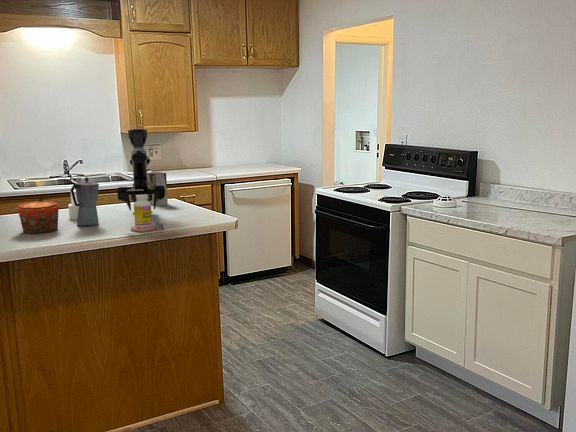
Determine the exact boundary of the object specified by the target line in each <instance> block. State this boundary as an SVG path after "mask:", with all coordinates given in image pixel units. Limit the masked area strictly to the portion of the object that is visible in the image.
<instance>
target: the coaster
mask: <svg viewBox="0 0 576 432" xmlns="http://www.w3.org/2000/svg"><path fill="white" fill-rule="evenodd" d="M156 229H157V226H156V224H153V223H152V226H150V227H147V228H137V227H136V226H135V224H134V225H131V227H130V231H131V232H134V233H135V232H137V233H143V232H144V233H145V232H147V233H148V232H151V231H152V232H153V231H155V230H156Z"/></svg>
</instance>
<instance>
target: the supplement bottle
mask: <svg viewBox="0 0 576 432" xmlns="http://www.w3.org/2000/svg"><path fill="white" fill-rule="evenodd" d="M136 199H137V201H136V202H135V203H134V202H133V213H134V214H133V216H134V225H135V226H136V227H137V228H147V227H150V226H152V224H153V222H152V221H153V220H152V218H153V217H152V213H151V211H152V204H151V203H150V202H149V201H148V195H145V194H141V195H136Z"/></svg>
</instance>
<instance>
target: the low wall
mask: <svg viewBox="0 0 576 432" xmlns="http://www.w3.org/2000/svg"><path fill="white" fill-rule="evenodd" d="M155 225H156V228H159V229H160V230H161V231H163V230H164V223H163V222H162V221H161V220H159V219H156V218H155Z"/></svg>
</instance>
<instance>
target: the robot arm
mask: <svg viewBox="0 0 576 432" xmlns="http://www.w3.org/2000/svg"><path fill="white" fill-rule="evenodd" d="M127 135H128V140H129V141H130V145H131V146H132V147H133V150H132V151H131V152H130V153H131V154H130V155H131V156H129V163H130V164H129V165H130V166H132V174H133V175H132V176H133V182H132V188H131V189H128V186H118V187H117V188H116V192H117V200H119V201H121V202H125V203H126V205H127V207H128V209H129V211H132V206H131V205H132V204H131V201H132V202H133V204H134V203H135V202H136V201H137V199H136V195H141V194H145V195H148V197H150V198H148V201H151V200H152V194H154V205H153V210H155V209H156V207H157V206H156V204H157V202H158V200H159V199H162V198H164V197H165V186H163V185H155V189H150V188H149V184H148V177H147V173H148V165H150V162H151V158H149V155H148V156H147V151H146V150H145V149H144V147H145V145H146V144H147V139H148V130H147V129H145V128H139V127H138V128H131V129H129V130H128V132H127ZM152 213H153V211H152V210H151V214H152ZM132 215H134V212H132Z"/></svg>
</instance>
